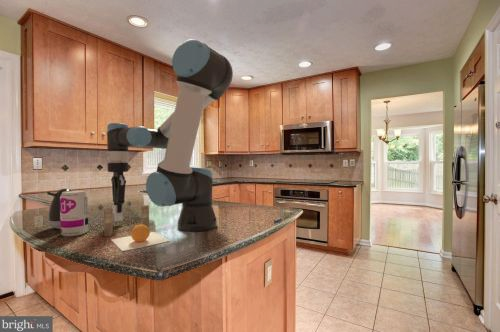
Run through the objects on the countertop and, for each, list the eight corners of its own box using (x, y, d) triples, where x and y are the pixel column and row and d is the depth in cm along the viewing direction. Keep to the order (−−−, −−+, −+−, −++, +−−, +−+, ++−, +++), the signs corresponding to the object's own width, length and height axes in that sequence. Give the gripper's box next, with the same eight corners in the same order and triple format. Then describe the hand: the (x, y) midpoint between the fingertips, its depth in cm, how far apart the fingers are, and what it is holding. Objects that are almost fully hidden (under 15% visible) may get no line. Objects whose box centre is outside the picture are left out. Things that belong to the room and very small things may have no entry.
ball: (152, 224, 80) (146, 221, 85) (133, 227, 77) (128, 224, 81) (152, 242, 80) (146, 238, 85) (134, 245, 77) (128, 241, 81)
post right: (150, 228, 96) (149, 205, 96) (143, 230, 94) (142, 206, 94) (147, 227, 98) (147, 204, 98) (140, 228, 96) (140, 205, 96)
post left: (113, 235, 88) (113, 209, 88) (105, 236, 86) (104, 210, 86) (111, 233, 90) (111, 208, 90) (103, 234, 88) (103, 209, 88)
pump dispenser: (46, 227, 99) (45, 188, 99) (78, 222, 106) (77, 186, 106) (48, 232, 91) (48, 190, 91) (82, 227, 98) (82, 188, 98)
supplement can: (74, 237, 85) (73, 193, 85) (54, 236, 87) (53, 192, 87) (93, 231, 93) (93, 190, 93) (75, 229, 95) (74, 190, 95)
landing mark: (169, 241, 81) (169, 240, 81) (122, 251, 72) (122, 250, 72) (153, 232, 91) (153, 231, 91) (110, 240, 82) (110, 239, 82)
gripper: (104, 162, 104) (104, 219, 105) (111, 162, 94) (112, 224, 95) (123, 162, 109) (124, 216, 109) (132, 162, 99) (133, 221, 100)
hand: (118, 220), depth 102 cm, fingers closed
